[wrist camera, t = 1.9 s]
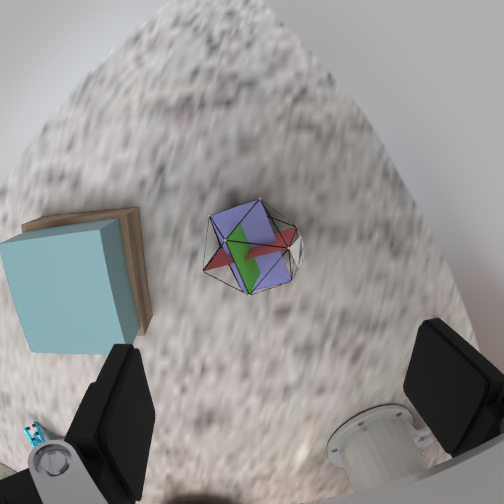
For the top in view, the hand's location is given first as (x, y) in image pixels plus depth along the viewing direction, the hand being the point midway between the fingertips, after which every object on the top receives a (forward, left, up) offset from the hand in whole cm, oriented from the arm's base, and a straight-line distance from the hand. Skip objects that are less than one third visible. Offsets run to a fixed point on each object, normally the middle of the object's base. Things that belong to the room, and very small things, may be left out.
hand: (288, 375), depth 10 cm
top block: (+14, +2, -15) cm, 20 cm away
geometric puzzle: (0, 0, -18) cm, 18 cm away
